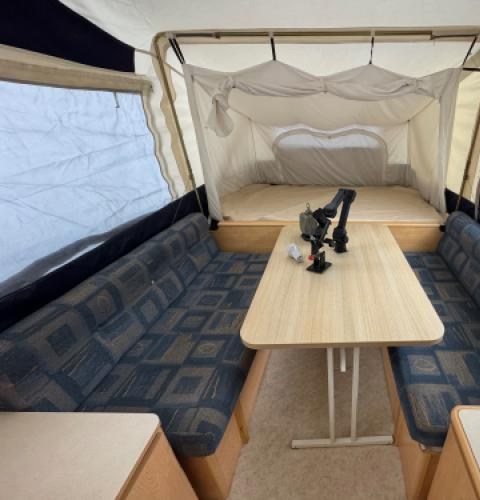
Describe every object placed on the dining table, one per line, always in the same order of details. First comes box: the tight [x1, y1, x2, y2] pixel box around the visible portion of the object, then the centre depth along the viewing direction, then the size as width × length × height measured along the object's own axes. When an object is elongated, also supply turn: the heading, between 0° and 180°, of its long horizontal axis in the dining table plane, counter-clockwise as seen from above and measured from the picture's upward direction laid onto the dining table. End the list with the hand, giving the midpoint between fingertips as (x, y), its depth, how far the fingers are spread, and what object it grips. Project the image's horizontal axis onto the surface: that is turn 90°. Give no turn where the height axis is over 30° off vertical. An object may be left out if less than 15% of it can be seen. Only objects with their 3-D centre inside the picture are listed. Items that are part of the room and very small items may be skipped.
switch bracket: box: [306, 249, 333, 275], centre depth 145 cm, size 12×9×10 cm
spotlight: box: [285, 242, 305, 263], centre depth 155 cm, size 8×11×8 cm
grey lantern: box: [298, 202, 318, 236], centre depth 181 cm, size 14×9×25 cm, turn 22°
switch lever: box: [307, 250, 322, 262], centre depth 141 cm, size 11×3×3 cm, turn 152°
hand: (311, 254), depth 137 cm, fingers closed, pressing on switch lever
